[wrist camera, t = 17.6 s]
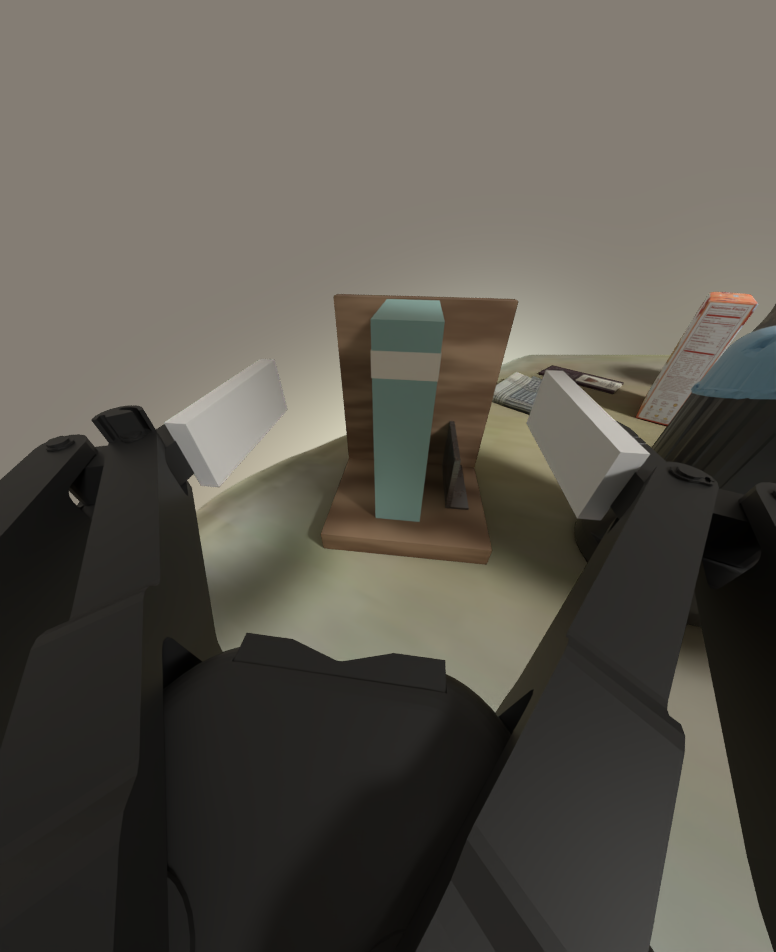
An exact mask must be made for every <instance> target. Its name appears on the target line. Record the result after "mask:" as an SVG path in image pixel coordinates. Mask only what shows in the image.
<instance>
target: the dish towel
mask: <svg viewBox="0 0 776 952" xmlns="http://www.w3.org/2000/svg"><path fill="white" fill-rule="evenodd" d="M541 382H542V379H540V378H537V377H534V376H533V377H532V378H530V377H528V376H525V375H522V374H520V373H518V372H515V373H514V374H512V375H511V376H509V377H508V378H506V379H505V380H503V381H502V382H500V383H499V384H497V385H496V388H495V392H494V395H493V399H492V402H494V403H497V404H500V405H502V406H506V407H508V408H511V409H514V410H517V411H520V412H523V413H526V414H529V415H530V412H531V410H532V407H533V404H534V401H535V398H536V396H537V393H538V390H539V387H540V385H541ZM588 395H589V394H588ZM589 396H590V395H589ZM590 397H591V396H590Z"/></svg>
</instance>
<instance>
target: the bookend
mask: <svg viewBox="0 0 776 952" xmlns="http://www.w3.org/2000/svg"><path fill="white" fill-rule="evenodd" d="M460 462H461V459H460V453H459V446H458V440H457V434H456V427H455V421H450V422H449V428H448V434H447V440H446V446H445V451H444V457H443V463H442V470H443V484H444V499H445V508H450V509H462V510H468V509H469V507H468V501H467V494H466V488H465V482H464V476H463V470H462V465H460Z"/></svg>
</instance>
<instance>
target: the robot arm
mask: <svg viewBox="0 0 776 952" xmlns="http://www.w3.org/2000/svg"><path fill="white" fill-rule="evenodd" d="M691 392H692V393H691V394H690V396H689V397H688V398H687V400H686V401H685V403H684V404H683V405H682V407H681V408H680V409H679V411H678V412H677V413H676V415H675V416H674V418H673V419H672V420H671V422H670V423H669V424H668V426H667V427H666V428H665V430H664V431H663V433H662V434H661V435H660V437H659V438H658V439H657V441H656V442H655V444H654V445H653V446H652V448H651V447H650V446H649V445H648V444H645V443H646V442H644V441H643V440H642V439H641V438H638V435H637V434H636V433H635V432H634V431H632V430H631V429H630V428H629V427H627V426H625V425H623V424H621V423H619V422H618V421H615V420H614V419H613V418H612V417H611V416H610V415H609V414H608V413H607V412H606V411H605V410H604V409H603V408H601V407H600V406H599V405H598V404H597V403H596V402H595V401H594V400H593V399H592V398H591V397H590V396H589V395H588V394H587V393H586V392H585V391H584V390H583V389H582V388H581V387H579V386H578V385H577V384H576V383H575V382H574V381H573V380H572V379H571V378H570V377H569V376H568V375H567V374H566V373H565V372H564V371H553V370H546V371H545V374H544V376H543V379H542V382H541V385H540V387H539V390H538V393H537V396H536V398H535V401H534V404H533V407H532V410H531V412H530V415H529V418H528V421H527V425H528V427H529V429H530V431H531V433H532V435H533V436H534V438H535V440H536V442H537V444H538V446H539V448H540V450H541V451H542V453H543V455H544V457H545V459H546V461H547V463H548V465H549V467H550V468H551V470H552V472H553V474H554V476H555V478H556V480H557V482H558V483H559V485H560V487H561V489H562V491H563V493H564V495H565V497H566V498H567V500H568V502H569V504H570V506H571V508H572V510H573V512H574V513H575V515H576V517H577V518H578V519H577V521H576V524H575V537H576V541H577V544H578V546H579V548H580V550H581V552H582V554H583V555H584V557H585V558H586V560H587V561H588V563H587V565H586V567H585V568H584V570H583V572H582V573H581V575H580V577H579V578H578V580H577V582H576V584H575V585H574V587H573V589H572V590H571V592H570V594H569V595H568V597H567V599H566V600H565V602H564V604H563V605H562V607H561V609H560V610H559V612H558V614H557V615H556V617H555V619H554V620H553V622H552V624H551V626H550V627H549V629H548V631H547V632H546V634H545V636H544V637H543V639H542V641H541V642H540V644H539V646H538V647H537V649H536V651H535V652H534V654H533V656H532V657H531V659H530V661H529V663H528V664H527V666H526V668H525V669H524V671H523V673H522V674H521V676H520V678H519V679H518V681H517V682H516V684H515V685H514V687H513V688H512V689H511V691H510V692H509V693H508V695H507V696H506V697H505V699H504V700H503V702H502V703H501V705H500V706H499V708H498V710H497V711H496V713H495V712H494V711H493V710H492V709H491V708H490V707H489V706H488V705H487V704H486V703H485V702H484V701H483V699H482V698H481V697H480V696H478V695H477V694H476V693H475V692H473V691H472V690H471V689H470V688H469V687H467V686H466V685H464V684H463V683H461V682H460V681H458V680H456V679H455V678H453V677H451V676H449V675H447V674H446V670H445V660H440V659H432V658H425V657H418V656H411V655H403V654H396V653H392V654H386V655H380V656H374V657H367V658H361V659H355V660H349V661H336V660H334V659H332V658H330V657H328V656H326V655H324V654H322V653H320V652H318V651H316V650H314V649H312V648H310V647H308V646H306V645H304V644H302V643H300V642H298V641H296V640H293V639H288V638H281V637H273V636H266V635H259V634H252V633H246V636H245V638H244V640H243V642H242V644H241V646H240V647H238V648H235V649H231V650H228V651H225V652H222V650H221V648H220V646H219V644H218V641H217V638H216V634H215V628H214V621H213V615H212V609H211V603H210V597H209V591H208V585H207V578H206V572H205V566H204V560H203V554H202V548H201V542H200V535H199V529H198V523H197V517H196V511H195V505H194V498H193V492H192V487H191V486H190V484H189V483H188V481H187V480H188V479H189V478H190V477H191V476H192V475H193V474H194V475H195V476H196V478H197V480H198V482H199V483H200V485H201V486H210V487H220V486H221V485H222V484H223V482H224V481H225V480H226V479H227V478H228V477H229V476H230V474H231V473H232V472H233V471H234V470H235V469H236V468H237V466H238V465H239V464H240V463H241V462H242V461H243V459H245V457H246V456H247V455H248V454H249V453H250V452H251V451H252V449H253V448H254V447H255V446H256V445H257V444H258V443H259V442H260V440H261V439H262V438H263V437H264V436H265V435H266V434H267V432H268V431H269V430H270V429H271V428H272V427H273V426H274V424H275V423H276V422H277V421H278V420H279V419H280V418H281V416H282V415H283V414H284V413H285V412H286V411H287V406H286V402H285V398H284V394H283V390H282V386H281V382H280V378H279V374H278V370H277V366H276V363H275V360H272V359H260V360H258V361H257V362H255V363H254V364H252V365H251V366H249V367H248V368H246V369H245V370H243V371H242V372H240V373H239V374H237V375H236V376H234V377H232V378H231V379H229V380H228V381H226V382H225V383H223V384H222V385H220V386H219V387H217V388H216V389H215V390H213V391H211V392H210V393H208V394H207V395H205V396H204V397H202V398H201V399H199V400H198V401H196V402H195V403H193V404H192V405H190V406H189V407H187V408H185V409H184V410H183V411H181V412H180V413H178V414H176V415H175V416H173V417H172V418H170V419H169V420H167V421H166V422H164V425H162V426H161V427H159V428H158V429H155V428H154V426H153V424H152V423H151V421H150V419H149V418H148V417H147V415H146V413H145V411H144V410H143V408H142V407H140V406H123V407H118V408H113V409H110V410H107V411H104V412H102V413H100V414H98V415H97V416H95V417H94V418H93V419H92V422H93V423H94V424H95V426H96V427H97V428H98V429H99V431H100V432H101V433H102V434H103V436H104V437H105V439H106V440H107V441H108V442H109V444H108V446H100V447H94V446H93V444H92V443H91V442H90V441H89V440H88V438H87V437H86V436H85V435H69V436H59V437H56V438H53V439H50V440H48V441H47V442H46V443H44V444H42V445H40V446H39V447H37V448H36V449H34V450H33V451H32V452H31V453H30V454H29V455H28V456H26V457H25V458H24V459H23V460H22V461H21V462H20V463H19V464H18V465H17V466H15V467H14V468H13V469H12V470H11V471H10V472H9V473H8V474H7V475H5V476H4V477H3V478H2V479H1V480H0V952H654V951H653V949H652V948H651V946H650V940H651V935H652V929H653V924H654V918H655V913H656V907H657V902H658V896H659V891H660V885H661V880H662V874H663V869H664V863H665V858H666V852H667V847H668V841H669V836H670V830H671V825H672V819H673V814H674V808H675V803H676V797H677V792H678V786H679V781H680V775H681V770H682V764H683V758H684V752H685V735H684V732H683V729H682V726H681V724H680V723H678V722H677V721H676V720H674V719H673V718H672V717H670V716H669V714H668V711H667V704H668V698H669V694H670V690H671V686H672V682H673V677H674V673H675V669H676V665H677V661H678V656H679V652H680V648H681V644H682V640H683V635H684V631H685V627H686V624H689V625H694V626H700V627H702V632H703V637H704V642H705V647H706V652H707V657H708V662H709V667H710V672H711V677H712V682H713V687H714V692H715V697H716V702H717V708H718V713H719V718H720V723H721V728H722V733H723V738H724V743H725V748H726V753H727V758H728V763H729V768H730V773H731V778H732V783H733V788H734V793H735V798H736V803H737V808H738V813H739V818H740V823H741V828H742V833H743V838H744V843H745V849H746V854H747V858H748V862H749V866H750V870H751V875H752V879H753V883H754V887H755V891H756V895H757V899H758V903H759V907H760V910H761V913H762V916H763V919H764V923H765V926H766V929H767V932H768V935H769V938H770V941H771V944H772V947H773V950H774V952H776V326H771V327H766V328H762V329H759V330H756V331H754V332H751V333H749V334H747V335H745V336H743V337H741V338H740V339H738V340H737V341H735V342H734V343H733V344H732V345H730V347H728V349H727V350H726V351H725V352H724V353H723V354H722V356H721V357H720V358H719V359H718V360H717V362H716V363H715V364H714V365H713V366H712V368H711V369H710V370H709V371H708V372H707V374H706V375H705V376H704V377H703V378H702V380H701V381H699V382H697V383H696V384H695V385H694V386H693V387H692V389H691ZM69 491H70V492H71V493H72V494H73V495H74V496H75V497H76V498H77V499H78V500H79V501H80V502H79V503H78V505H76V504H75V503H73V501H72V500H71V498H70V497H69Z"/></svg>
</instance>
